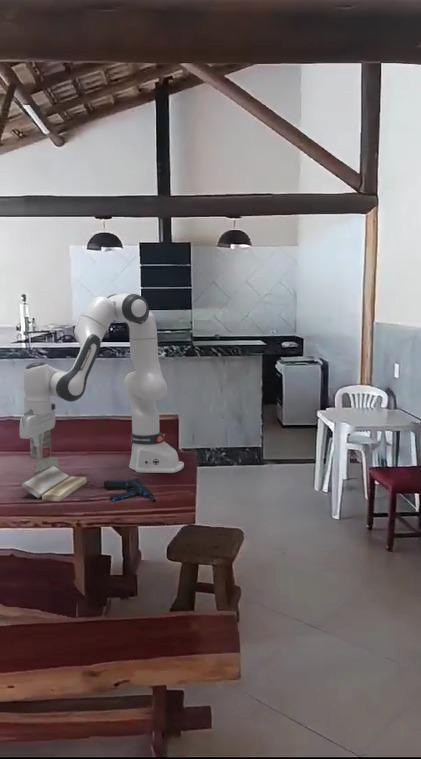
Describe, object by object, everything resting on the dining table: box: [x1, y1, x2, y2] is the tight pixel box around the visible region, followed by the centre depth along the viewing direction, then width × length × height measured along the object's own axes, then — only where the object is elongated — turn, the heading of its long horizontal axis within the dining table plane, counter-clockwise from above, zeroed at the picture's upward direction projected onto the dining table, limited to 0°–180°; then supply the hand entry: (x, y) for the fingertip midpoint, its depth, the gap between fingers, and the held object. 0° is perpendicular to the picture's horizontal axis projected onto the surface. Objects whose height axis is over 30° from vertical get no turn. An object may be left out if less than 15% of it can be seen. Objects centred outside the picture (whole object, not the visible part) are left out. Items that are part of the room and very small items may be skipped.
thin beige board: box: [41, 475, 87, 502], centre depth 233 cm, size 7×22×2 cm, turn 167°
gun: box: [103, 478, 157, 503], centre depth 230 cm, size 24×3×15 cm
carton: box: [29, 429, 53, 460], centre depth 280 cm, size 7×7×22 cm
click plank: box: [19, 465, 69, 499], centre depth 235 cm, size 8×22×2 cm, turn 166°
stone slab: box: [34, 456, 61, 474], centre depth 266 cm, size 22×3×10 cm
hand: (38, 445), depth 233 cm, fingers closed
